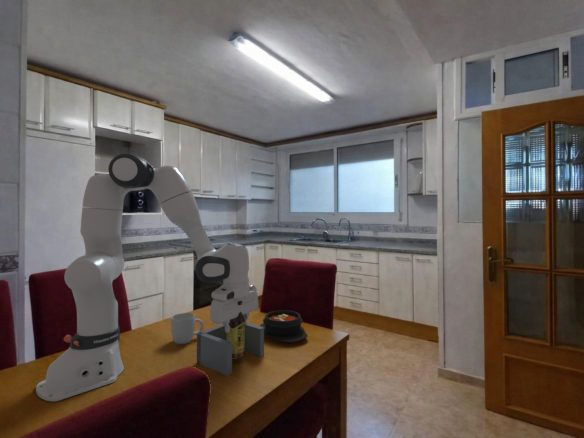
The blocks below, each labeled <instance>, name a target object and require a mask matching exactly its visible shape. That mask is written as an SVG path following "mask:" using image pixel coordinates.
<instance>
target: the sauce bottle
mask: <svg viewBox="0 0 584 438" xmlns="http://www.w3.org/2000/svg"><path fill="white" fill-rule="evenodd" d="M237 304H238V306H239V305H241V304H242V301H238V303H237ZM228 324H229V326H230V327H232V329H231V330H232V331H231V332H229V333H227V341H229V342H232V359H239V358H242V357H243V356H244V354H245V351H244V344H245V319H244V316H243V314H242V313H241V312H240V313H239V314H238V317H236V318H234V319H231V320H230V323H228Z"/></svg>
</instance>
